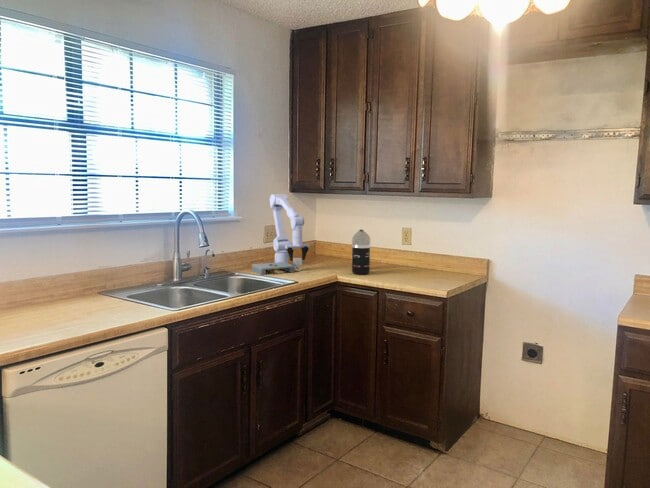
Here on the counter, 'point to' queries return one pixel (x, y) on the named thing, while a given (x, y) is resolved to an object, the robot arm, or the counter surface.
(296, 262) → the peg
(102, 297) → the counter surface
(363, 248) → the black and grey bottle
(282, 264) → the keyhole plate
